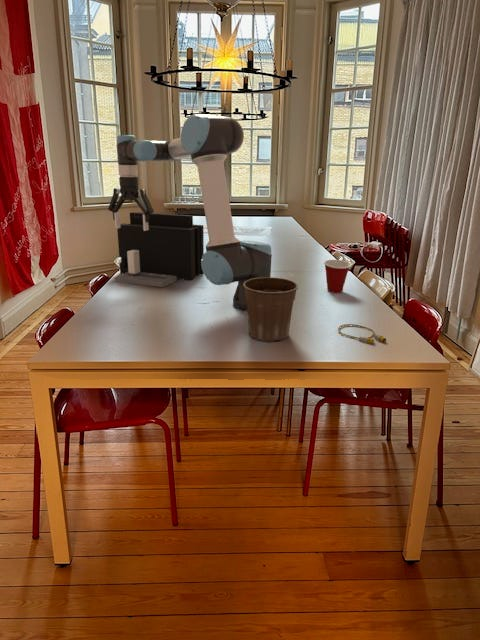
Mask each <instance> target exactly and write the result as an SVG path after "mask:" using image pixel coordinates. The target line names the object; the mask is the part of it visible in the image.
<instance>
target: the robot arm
mask: <svg viewBox="0 0 480 640" xmlns="http://www.w3.org/2000/svg"><path fill="white" fill-rule="evenodd" d="M244 138H245V135H244V130H243V127H242V125H241V124H240V123H239V122H238V121H237V120H236V119H235V118H233V117H230V116H221V115H214V114H213V115H212V114H205V113H201V114H192V115H190V116H188V117H187V119H185V121H184V122H183V126H182V127H181V131H180V137H177V138H175V139H174V138H173V139H171V140H148V139H138V140H137V137H136V136H135V135H133V134H119V135H117V136H116V153H117V154H116V156H117V164H118V166H117V167H118V175H119V177H118V180H119V181H118V183H119V187H120V188H119V187H115V188H113V190H112V191H113V193H112V197H111V200H110V203H109V205H108V209H107V210H108V211H109V212H112V219H113V221H114V226H115V229H118V228H121V225H120V224H121V215H120V214H121V213H120V212H119V210H120V209H121V207H122V205H123V204H124V203H125V202H126V201H134V202H135V203H136V204H137V205H138V207H139V209H140V210H141V211H142V212H144V215H143V228H144V231H147V230H149V227H148V222H150V213H155V211H154V209H153V207H152V203H151V202H150V200H149V198H148V194H147V191H146V189H145V188H143V189H139V185H140V184H139V177H138V175H139V171H138V162H172V163H173V162H180V161H181V160H182V159H186V158H191V163H193V164H194V165H195V166H196V167H197V174H198V179H199V185H200V190H201V191H200V192H201V197H202V203H203V210H204V216H205V217H204V218H205V222H206V229H207V233H208V234H207V236H208V242H207V244H205V252H204V254H203V256H202V258H203V259H201V267H202V271H203V275H204V276H205V278H206V280H208V281H209V283H211V284H212V285H215V286H222V285H230V284H232V283H236V282H237V285H236V289H235V291H234V294H233V298H232V305H233V306H234V307H235V308H237V309H241V310H245V311H248V310H247V299H246V296H245V288H244V286H243V283H244V282H245V281H247V280H249V279H253V278H260V277H271V275H272V274H271V273H272V256H273V255H272V245H270V243H267V242H264V241H263V242H262V241H255V240H239V238H237V237H236V236H235V230H234V225H233V217H232V210H231V205H230V198H229V197H230V196H229V191H228V183H227V177H226V171H225V165H224V162H225V160H226V159H227V158H228V155H230V154H233V153H235V152H237V151H238V150H240V148H241V147H242V145H243V142H244ZM139 195H140V196H139ZM119 196H120V197H119Z"/></svg>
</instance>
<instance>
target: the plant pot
mask: <svg viewBox="0 0 480 640" xmlns="http://www.w3.org/2000/svg"><path fill="white" fill-rule="evenodd" d="M243 286H244V288H245V296H246V299H247V310H246V311H247V320H248V321H247V324H248V335H249V336H251V338H252V339H255V340H257V341H260V340H261V341H260V342H268V343H269V342H270V343H271V342H275V341H279V342H281V341H284V340H285V339H287V338H288V337H289V332H290V326H291V318H292V313H293V312H292V311H293V307H294V301H295V299H296V294H297V290H298V289H299V284H298V283H297V282H295V281H294V280H290V279H286V278H281V277H271V276H270V277H260V278H253V279H249V280H247V281H245V282H244V283H243ZM280 340H281V341H280Z"/></svg>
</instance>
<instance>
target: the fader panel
mask: <svg viewBox="0 0 480 640" xmlns="http://www.w3.org/2000/svg"><path fill="white" fill-rule="evenodd" d="M128 273H129V272H126V273H124V274H122V273H120V274H118V275H117V276H114V280H115V282H116V283H123V284H124V283H126V284H131V285H132V284H133V285H141V286H148V285H149V287H156V286H157V287H158V288H164V287H165V288H166V287H167V286H169V285H171V284H173V283H175V282H177V281H176V280H178V279H177V276H172V275H163V274H154V273H145V272H141V273H139V274H137V275H134V276H132V275H128ZM174 281H175V282H174ZM172 282H173V283H172Z"/></svg>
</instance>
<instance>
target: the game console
mask: <svg viewBox="0 0 480 640" xmlns="http://www.w3.org/2000/svg"><path fill="white" fill-rule="evenodd" d="M143 215H144V212H143V211H142V212H141V211H140V212H139V211H132V212H129V222H130V223H120V225H121V228H118V229H117V243H118V257H119V258H120V263H119V270H120V274H122V273H123V274H124V273H126V272H128V257H127V251H131V250H139V260H140V271H141V272H145V273H154V274H163V275H172V276H177V280H182V279H184V281H193V280H195V279H196V277H198V276H201V275H204V273H203V271H202V267H201V259H203V258H202V256H203V254H204V253H205V252H204V251H205V249H204V245H205V244H204V240H205V239H204V238H205V237H204V224H194V216H193V215H191V214H175V213H174V214H173V213H161V212H159V213H158V212H153V213H150V222H148V227H149V230H147V231H144V228H143Z"/></svg>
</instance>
